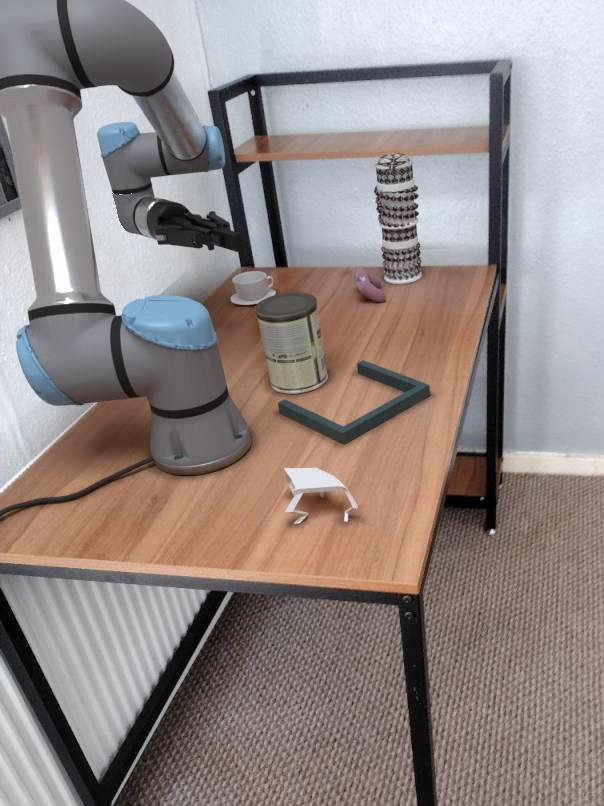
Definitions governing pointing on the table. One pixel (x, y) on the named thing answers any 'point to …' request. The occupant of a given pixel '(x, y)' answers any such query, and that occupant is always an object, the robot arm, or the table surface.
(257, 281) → the teacup
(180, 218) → the robot arm
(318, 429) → the teal u-shaped frame
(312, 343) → the coffee can
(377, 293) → the video game controller
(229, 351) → the table surface
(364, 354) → the table surface
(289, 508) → the origami figure
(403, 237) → the decorative candle
